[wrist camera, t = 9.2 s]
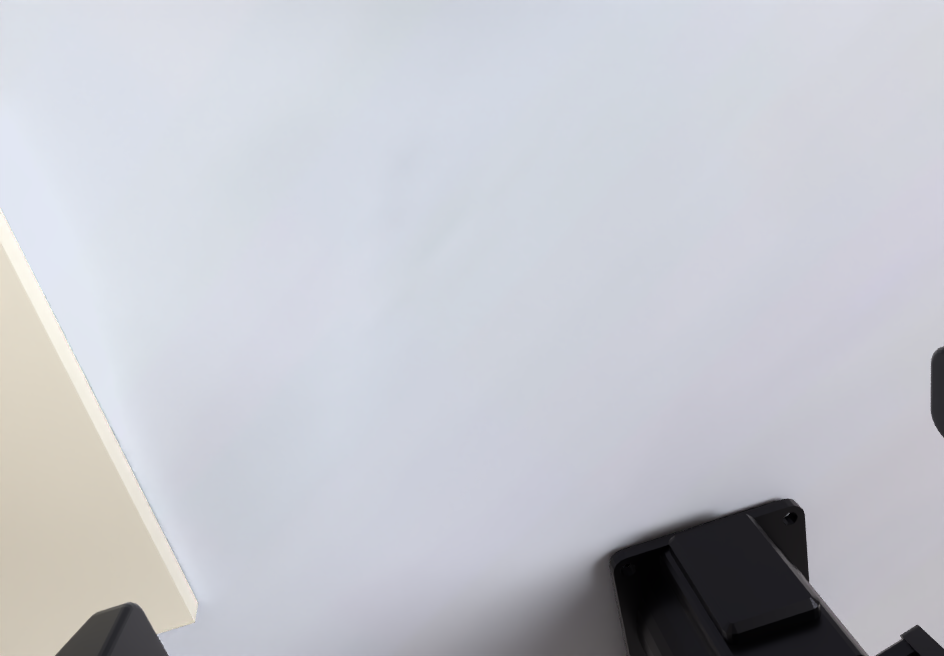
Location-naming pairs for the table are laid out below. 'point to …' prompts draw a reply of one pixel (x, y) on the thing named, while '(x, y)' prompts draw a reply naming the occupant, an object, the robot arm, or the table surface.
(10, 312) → the building board
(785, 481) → the table surface
